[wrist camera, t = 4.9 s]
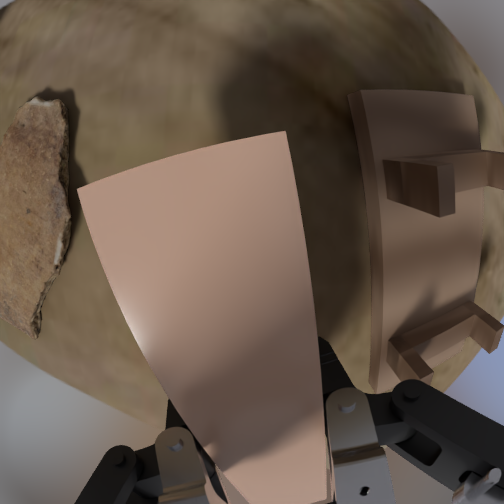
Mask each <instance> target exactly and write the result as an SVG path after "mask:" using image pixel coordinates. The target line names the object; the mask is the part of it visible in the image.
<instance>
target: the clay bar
mask: <svg viewBox="0 0 504 504" xmlns="http://www.w3.org/2000/svg"><path fill="white" fill-rule="evenodd" d="M77 192H78V195H79V199H80V202H81V205H82V209H83V212H84V215H85V218H86V221H87V225H88V228H89V231H90V233H91V236H92V239H93V242H94V245H95V248H96V250H97V253H98V256H99V258H100V261H101V264H102V266H103V269H104V271H105V274H106V276H107V279H108V281H109V283H110V286H111V288H112V290H113V293H114V295H115V297H116V300H117V302H118V304H119V306H120V308H121V311H122V313H123V315H124V317H125V319H126V321H127V323H128V325H129V327H130V329H131V331H132V333H133V335H134V337H135V339H136V341H137V343H138V345H139V347H140V349H141V351H142V352H143V354H144V356H145V358H146V360H147V362H148V363H149V365H150V367H151V369H152V371H153V372H154V374H155V376H156V377H157V379H158V381H159V383H160V384H161V386H162V388H163V389H164V391H165V392H166V394H167V396H168V397H169V399H170V400H171V402H172V404H173V405H174V407H175V408H176V410H177V411H178V413H179V414H180V416H181V417H182V419H183V420H184V422H185V423H186V425H187V426H188V428H189V429H190V430H191V432H192V433H193V435H194V436H195V437H196V439H197V440H198V442H199V443H200V444H201V446H202V447H203V448H204V450H205V451H206V452H207V454H208V455H209V456H210V457H211V459H212V460H213V461H214V463H215V464H216V465H217V466H218V467H219V469H220V470H221V471H222V472H223V474H224V475H225V476H226V477H227V478H228V480H229V481H230V482H231V483H232V484H233V485H234V487H235V488H236V489H237V490H238V491H239V492H240V493H241V495H242V496H243V497H244V498H245V499H246V500H247V501H248V502H249V503H250V504H310V503H314V502H317V501H320V500H324V499H326V449H325V426H324V408H323V393H322V380H321V368H320V357H319V346H318V336H317V327H316V318H315V309H314V300H313V292H312V285H311V277H310V270H309V262H308V255H307V249H306V242H305V235H304V229H303V223H302V216H301V210H300V205H299V199H298V193H297V187H296V182H295V176H294V171H293V166H292V161H291V155H290V150H289V145H288V140H287V136H286V131H281V132H275V133H269V134H264V135H259V136H254V137H249V138H244V139H239V140H234V141H230V142H225V143H221V144H217V145H213V146H208V147H204V148H200V149H197V150H193V151H189V152H185V153H182V154H178V155H174V156H171V157H167V158H164V159H161V160H157V161H154V162H151V163H148V164H145V165H141V166H138V167H135V168H132V169H129V170H126V171H123V172H121V173H118V174H115V175H112V176H109V177H107V178H104V179H101V180H98V181H96V182H93V183H91V184H88V185H86V186H83V187H80V188H78V189H77Z"/></svg>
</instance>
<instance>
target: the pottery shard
mask: <svg viewBox="0 0 504 504" xmlns="http://www.w3.org/2000/svg"><path fill="white" fill-rule="evenodd" d="M68 157H69V118H68V108H66V107H65V104H64V103H62V102H61V100H60V99H56V100H49V101H45V100H43V99H42V98H40V97H34V98H33V99H32V100H31V101H28V102H26V103H25V104H24V105H23V106H22V107H19V108H18V111H17V113H16V115H15V118H14V120H13V123H12V124H11V125H10V127H9V128H8V130H7V132H6V134H5V135H4V138H3V141H2V143H1V145H0V318H2V319H3V320H5V321H7V322H9V323H10V324H12V325H13V326H15V327H16V328H18V329H20V330H21V331H23V332H25V333H26V334H27V335H29V336H30V337H31V338H33V339H35V340H36V339H37V338H38V334H39V331H40V326H41V315H40V312H39V311H40V310H41V305H42V304H43V300H44V297H45V295H46V294H47V293H48V290H49V289H50V286H51V285H52V283H53V280H54V279H55V278H56V276H58V275H60V270H61V266H62V264H63V256H64V254H65V252H66V250H67V248H68V245H69V239H70V233H71V231H70V226H71V220H70V217H71V212H70V208H69V203H68V186H69V171H68Z"/></svg>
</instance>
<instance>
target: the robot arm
mask: <svg viewBox="0 0 504 504" xmlns="http://www.w3.org/2000/svg"><path fill="white" fill-rule="evenodd" d="M318 346H319V357H320V368H321V380H322V393H323V408H324V426H325V435H326V437H327V446H328V456H329V467H330V479H331V498H332V502H331V503H327V504H396V502H395V497H394V491H393V486H392V481H391V476H390V472H389V467H388V463H387V457H386V454H385V451H384V449H383V447H380V446H381V445H387V446H388V447H390V448H391V449H392V450H393V451H395V452H396V453H398V454H399V455H400V456H402V457H403V458H405V459H406V460H407V461H409V462H410V463H412V464H413V465H415V466H416V467H417V468H419V469H420V470H422V471H423V472H425V473H426V474H428V475H429V476H431V477H432V478H434V479H435V480H437V481H438V482H440V483H441V484H443V485H444V486H446V487H448V488H449V489H451V490H452V491H454V493H453V497H452V504H504V426H503V425H501V424H499V423H497V422H495V421H493V420H491V419H489V418H488V417H486V416H484V415H482V414H480V413H478V412H476V411H475V410H473V409H471V408H469V407H467V406H465V405H463V404H462V403H460V402H458V401H456V400H454V399H453V398H451V397H449V396H447V395H446V394H444V393H442V392H440V391H438V390H437V389H435V388H433V387H431V386H430V385H428V384H426V383H424V382H422V381H420V380H416V379H408V380H404V381H402V382H400V383H398V384H397V385H396V386H395V387H394V389H393V391H392V392H388V393H381V394H367V393H364V392H362V391H361V390H359V389H357V388H356V387H355V386H354V385H353V383H352V382H351V380H350V378H349V377H348V375H347V373H346V371H345V370H344V368H343V366H342V364H341V363H340V361H339V360H338V358H337V356H336V354H335V353H334V351H333V349H332V347H331V346H330V344H329V342H327V341H326V340H324V339H323V338H321V337H318ZM75 504H231V502H230V499H229V497H228V495H227V492H226V490H225V487H224V485H223V482H222V479H221V477H220V474H219V472H218V469H217V467H216V466H215V463H214V461H213V460H212V459H211V457H210V456H209V455H208V454H207V452H206V451H205V450H204V448H203V447H202V446H201V444H200V443H199V442H198V440H197V439H196V437H195V436H194V435H193V433H192V432H191V430H190V429H189V428H188V426H187V425H186V423H185V422H184V420H183V419H182V417H181V416H180V414H179V413H178V411H177V410H176V408H175V407H174V405H173V404H172V402H171V400H170V399H169V400H168V407H167V418H166V429H165V430H164V431H163V432H162V433H160V434H159V436H158V437H157V439H156V441H155V444H153V445H151V446H149V447H146V448H143V449H140V450H137V451H133V450H132V449H131V448H130V447H128V446H124V445H119V446H115V447H113V448H111V449H109V450H108V451H107V452H106V454H105V455H104V457H103V458H102V460H101V462H100V463H99V465H98V466H97V468H96V470H95V471H94V473H93V474H92V476H91V478H90V479H89V481H88V482H87V484H86V486H85V487H84V489H83V491H82V492H81V494H80V496H79V497H78V499H77V500H76V502H75Z"/></svg>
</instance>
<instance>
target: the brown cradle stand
mask: <svg viewBox="0 0 504 504" xmlns="http://www.w3.org/2000/svg"><path fill="white" fill-rule="evenodd" d="M347 97H348V101H349V106H350V110H351V115H352V120H353V124H354V130H355V135H356V140H357V146H358V152H359V158H360V164H361V171H362V178H363V185H364V193H365V201H366V211H367V221H368V232H369V246H370V263H371V295H372V324H371V355H370V372H369V384H370V385H371V387H372V389H373V390H374V392H375V393H376V394H380V393H382V392H384V391H387V390H389V389H391V388H393V387H395V386H396V385H397V384H398V383H400V382H402V381H404V380H408V379H416V380H420V381H422V382H424V383H426V384H428V385H430V384H431V381H432V377H433V374H434V371H433V370H432V368H433V367H435V366H437V365H439V364H441V363H442V362H444V361H446V360H448V359H449V358H451V357H453V356H454V355H456V354H458V353H459V352H461V351H462V348H463V345H464V341H465V338H467V337H469V336H470V337H471V338H472V339H473V340H475V341H476V342H477V343H478V344H479V345H480V346H481V347H482V348H484V349H485V350H486V351H487V352H488V353H489V354H490V353H491V352H492V351H494V350H495V349H496V348H497V347H498V344H499V341H500V338H501V335H502V332H503V329H504V325H503V324H501V323H500V322H499V321H497V320H496V319H495V318H494V317H492V316H491V315H490V314H488V313H487V312H486V311H484V310H483V309H482V308H480V307H479V306H478V305H476V304H475V303H474V298H475V292H476V286H477V280H478V273H479V266H480V257H481V247H482V234H483V213H484V186H491V187H495V188H498V189H502V190H504V153H503V152H496V151H488V150H481V142H480V133H479V126H478V119H477V113H476V108H475V102H474V97H473V96H472V95H465V94H456V93H447V92H436V91H422V90H393V89H376V90H359V91H356V92H353V93H351V94H348V95H347Z"/></svg>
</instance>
